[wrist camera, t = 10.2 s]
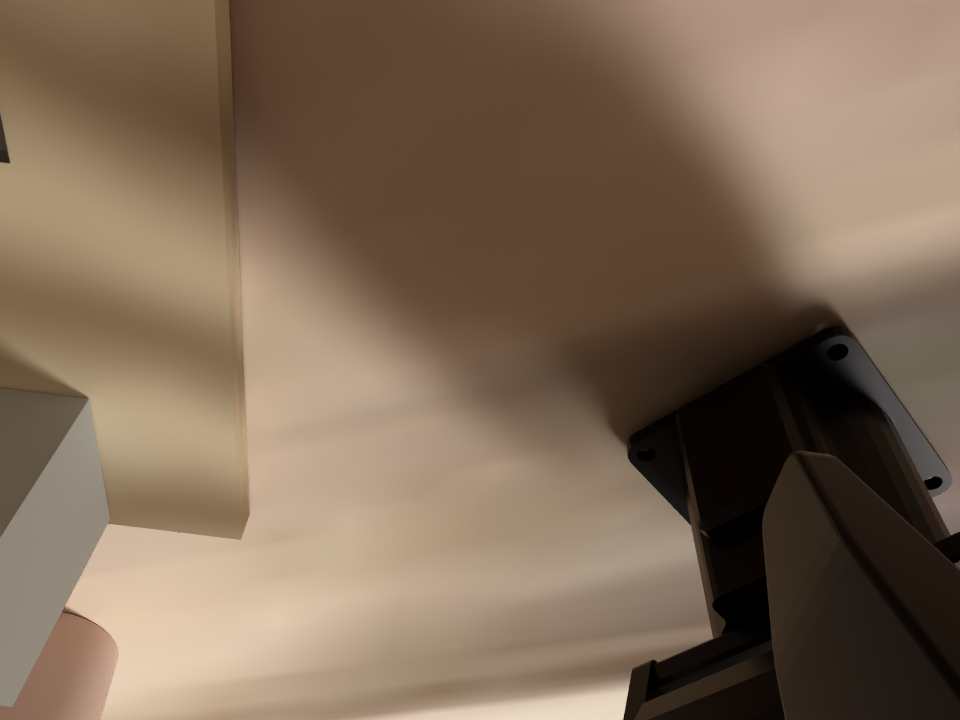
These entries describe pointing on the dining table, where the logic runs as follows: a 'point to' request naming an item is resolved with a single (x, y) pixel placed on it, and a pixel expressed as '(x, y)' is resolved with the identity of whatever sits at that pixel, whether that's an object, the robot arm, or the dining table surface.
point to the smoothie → (68, 674)
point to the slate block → (43, 520)
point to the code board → (128, 245)
